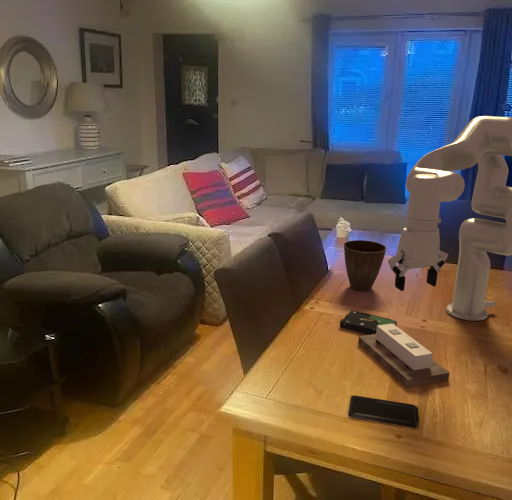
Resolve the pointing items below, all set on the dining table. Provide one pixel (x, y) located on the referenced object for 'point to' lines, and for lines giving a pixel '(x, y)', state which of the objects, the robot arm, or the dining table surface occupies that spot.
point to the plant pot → (363, 263)
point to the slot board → (402, 365)
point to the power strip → (404, 347)
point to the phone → (384, 411)
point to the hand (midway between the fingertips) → (415, 286)
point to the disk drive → (364, 322)
